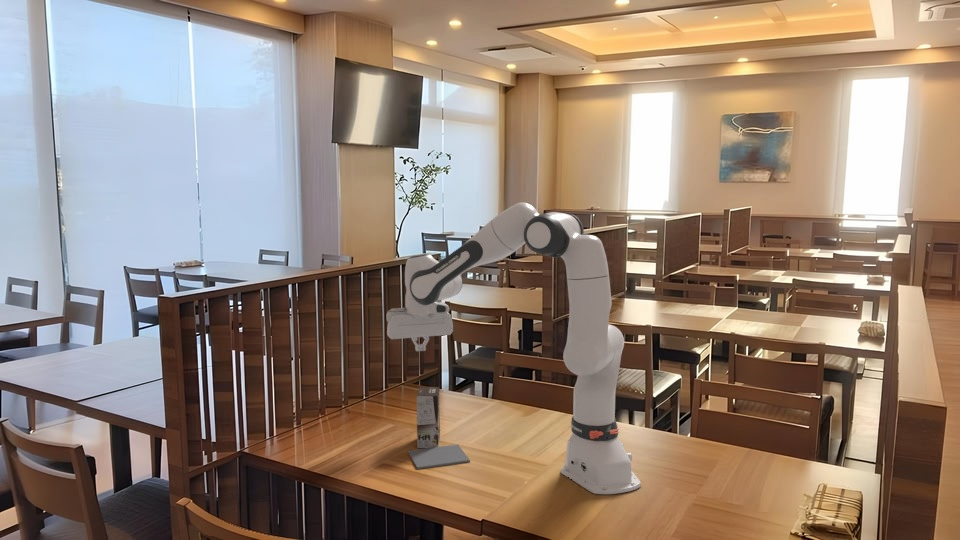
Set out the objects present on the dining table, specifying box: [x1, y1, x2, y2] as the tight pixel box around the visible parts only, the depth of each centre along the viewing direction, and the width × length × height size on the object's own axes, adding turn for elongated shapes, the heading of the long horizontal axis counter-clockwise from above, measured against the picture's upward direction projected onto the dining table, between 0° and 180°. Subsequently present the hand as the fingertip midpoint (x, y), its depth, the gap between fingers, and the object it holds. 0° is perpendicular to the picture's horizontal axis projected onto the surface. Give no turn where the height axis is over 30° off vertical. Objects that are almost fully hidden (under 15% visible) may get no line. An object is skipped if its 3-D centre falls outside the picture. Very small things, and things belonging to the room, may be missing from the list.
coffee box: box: [416, 386, 441, 449], centre depth 202 cm, size 9×6×16 cm
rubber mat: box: [408, 443, 471, 470], centre depth 192 cm, size 12×15×1 cm
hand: (420, 350), depth 208 cm, fingers closed
